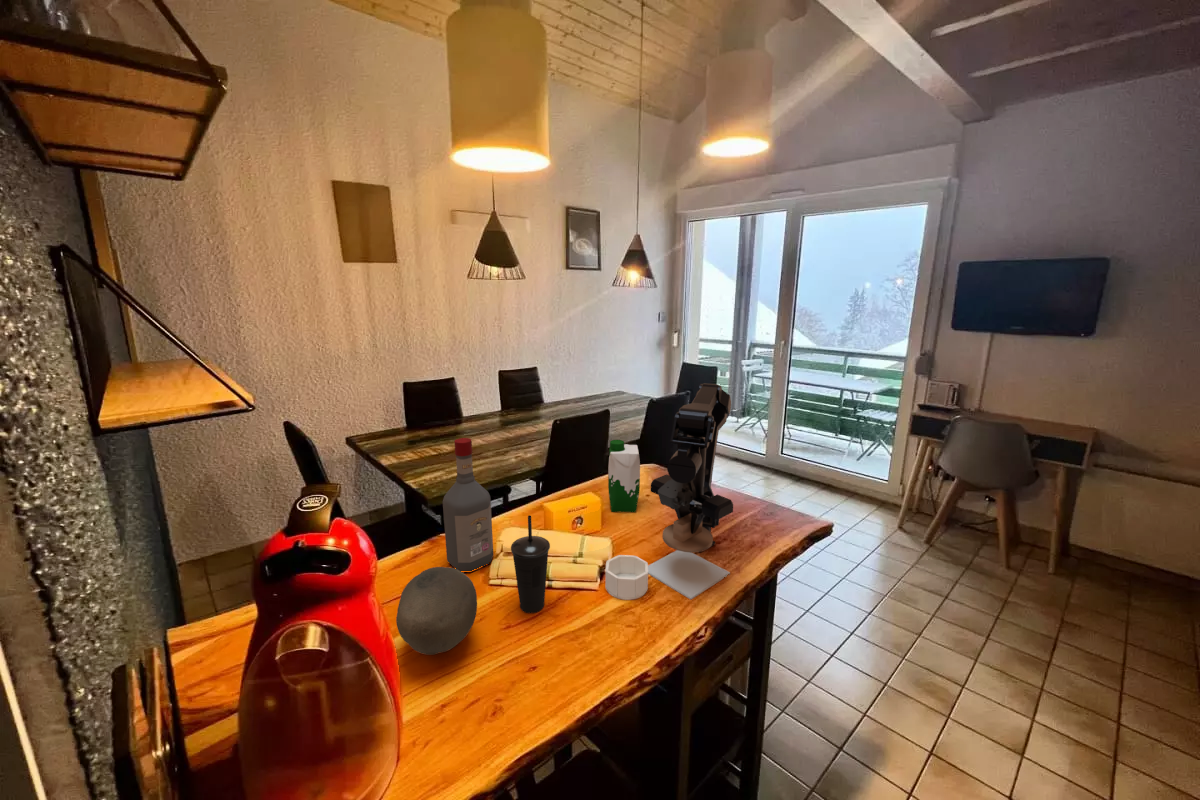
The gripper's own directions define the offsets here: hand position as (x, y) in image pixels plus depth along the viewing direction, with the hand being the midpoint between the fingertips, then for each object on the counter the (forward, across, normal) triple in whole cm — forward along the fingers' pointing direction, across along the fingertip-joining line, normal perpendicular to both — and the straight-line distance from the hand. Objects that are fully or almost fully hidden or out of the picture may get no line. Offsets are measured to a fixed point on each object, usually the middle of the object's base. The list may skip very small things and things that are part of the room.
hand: (688, 530), depth 110 cm
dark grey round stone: (+10, -14, -52) cm, 55 cm away
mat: (+10, 0, 0) cm, 10 cm away
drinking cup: (+10, -13, -33) cm, 37 cm away
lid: (+2, 0, 0) cm, 2 cm away
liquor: (+10, -36, -35) cm, 51 cm away
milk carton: (+11, -33, +12) cm, 37 cm away
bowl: (+10, -5, -14) cm, 18 cm away
